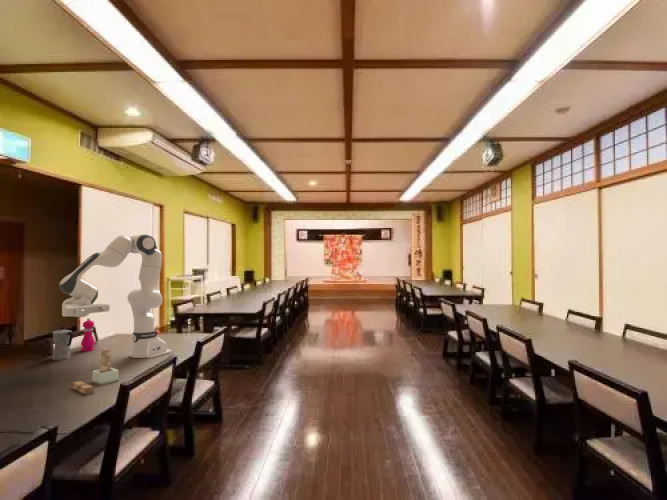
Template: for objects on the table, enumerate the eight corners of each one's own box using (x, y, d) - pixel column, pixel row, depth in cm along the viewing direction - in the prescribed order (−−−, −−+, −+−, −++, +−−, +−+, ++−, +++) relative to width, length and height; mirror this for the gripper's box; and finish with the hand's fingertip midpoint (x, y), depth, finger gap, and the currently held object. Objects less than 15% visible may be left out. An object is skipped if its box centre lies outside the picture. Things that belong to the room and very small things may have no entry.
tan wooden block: (107, 378, 186) (107, 348, 186) (110, 379, 184) (111, 349, 184) (100, 379, 183) (101, 349, 184) (103, 380, 182) (104, 350, 182)
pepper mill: (88, 351, 238) (88, 319, 238) (77, 351, 240) (78, 318, 240) (97, 349, 245) (98, 317, 246) (87, 348, 247) (88, 316, 247)
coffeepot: (45, 358, 221) (46, 326, 222) (62, 354, 230) (63, 324, 230) (63, 361, 215) (64, 329, 216) (80, 357, 224) (80, 326, 224)
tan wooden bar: (71, 389, 173) (72, 382, 173) (79, 387, 176) (79, 380, 176) (86, 395, 165) (86, 388, 165) (93, 394, 168) (93, 387, 168)
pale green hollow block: (110, 377, 189) (110, 367, 189) (118, 380, 185) (118, 370, 185) (92, 381, 183) (92, 370, 183) (100, 385, 178) (100, 374, 178)
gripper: (102, 312, 209) (115, 314, 201) (58, 316, 193) (70, 319, 184) (103, 300, 209) (115, 302, 201) (59, 304, 193) (70, 306, 184)
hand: (93, 310), depth 193 cm, fingers open, 8 cm apart
